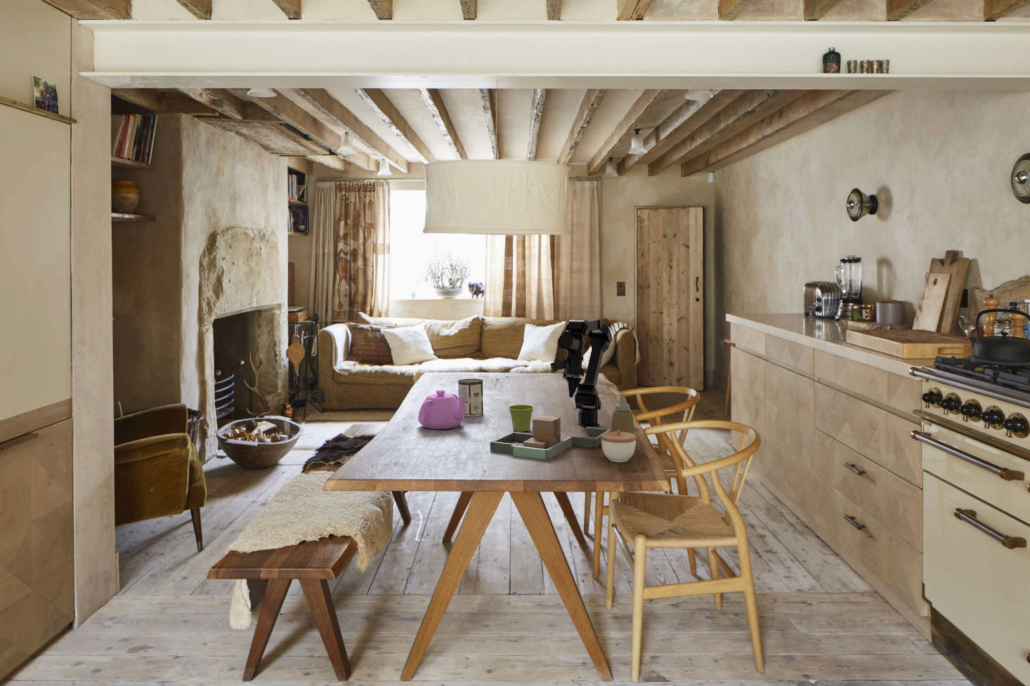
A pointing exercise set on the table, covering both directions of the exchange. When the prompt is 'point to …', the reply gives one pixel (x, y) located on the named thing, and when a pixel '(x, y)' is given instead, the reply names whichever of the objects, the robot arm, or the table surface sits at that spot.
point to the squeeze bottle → (622, 417)
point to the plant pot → (521, 417)
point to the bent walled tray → (515, 447)
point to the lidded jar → (618, 445)
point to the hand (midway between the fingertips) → (570, 397)
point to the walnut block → (545, 432)
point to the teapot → (442, 411)
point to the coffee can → (472, 395)
